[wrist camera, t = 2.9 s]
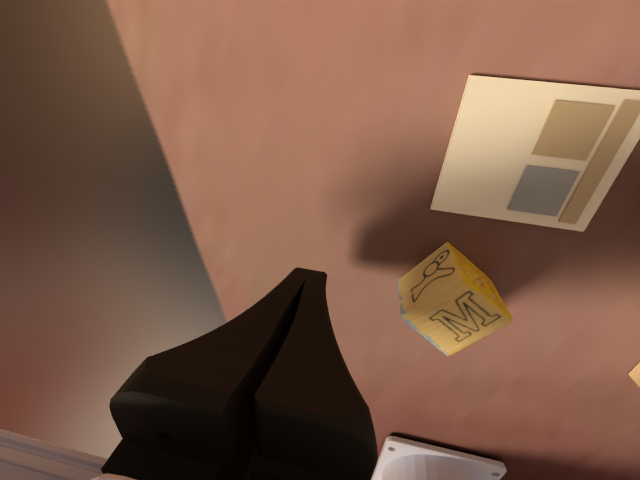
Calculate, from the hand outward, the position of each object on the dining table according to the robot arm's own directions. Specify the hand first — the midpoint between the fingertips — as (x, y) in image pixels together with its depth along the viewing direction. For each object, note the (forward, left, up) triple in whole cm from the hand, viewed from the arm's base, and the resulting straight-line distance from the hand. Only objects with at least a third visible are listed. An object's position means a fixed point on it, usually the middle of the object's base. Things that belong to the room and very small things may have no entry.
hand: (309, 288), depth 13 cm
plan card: (+6, -8, -3) cm, 10 cm away
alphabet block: (0, -6, -3) cm, 7 cm away
